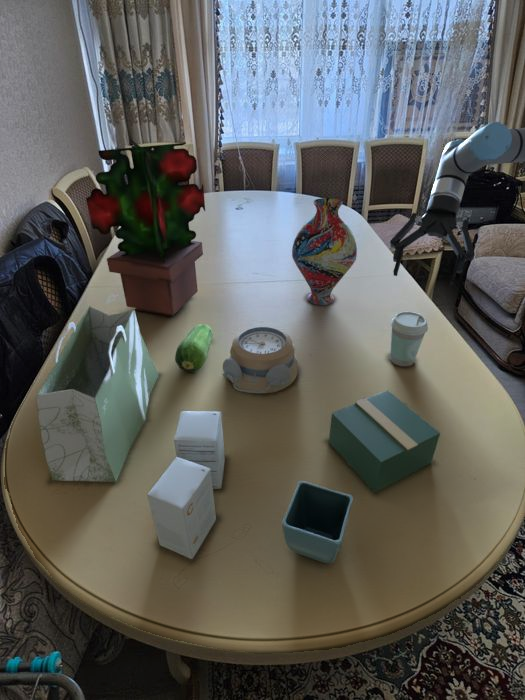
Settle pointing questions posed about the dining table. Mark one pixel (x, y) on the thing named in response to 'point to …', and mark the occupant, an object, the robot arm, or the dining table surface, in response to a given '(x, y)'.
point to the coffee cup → (406, 337)
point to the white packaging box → (202, 442)
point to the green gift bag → (95, 397)
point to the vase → (324, 250)
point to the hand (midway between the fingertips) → (422, 278)
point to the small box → (183, 506)
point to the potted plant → (151, 224)
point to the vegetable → (194, 348)
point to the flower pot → (316, 521)
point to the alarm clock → (261, 361)
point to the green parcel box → (382, 439)
